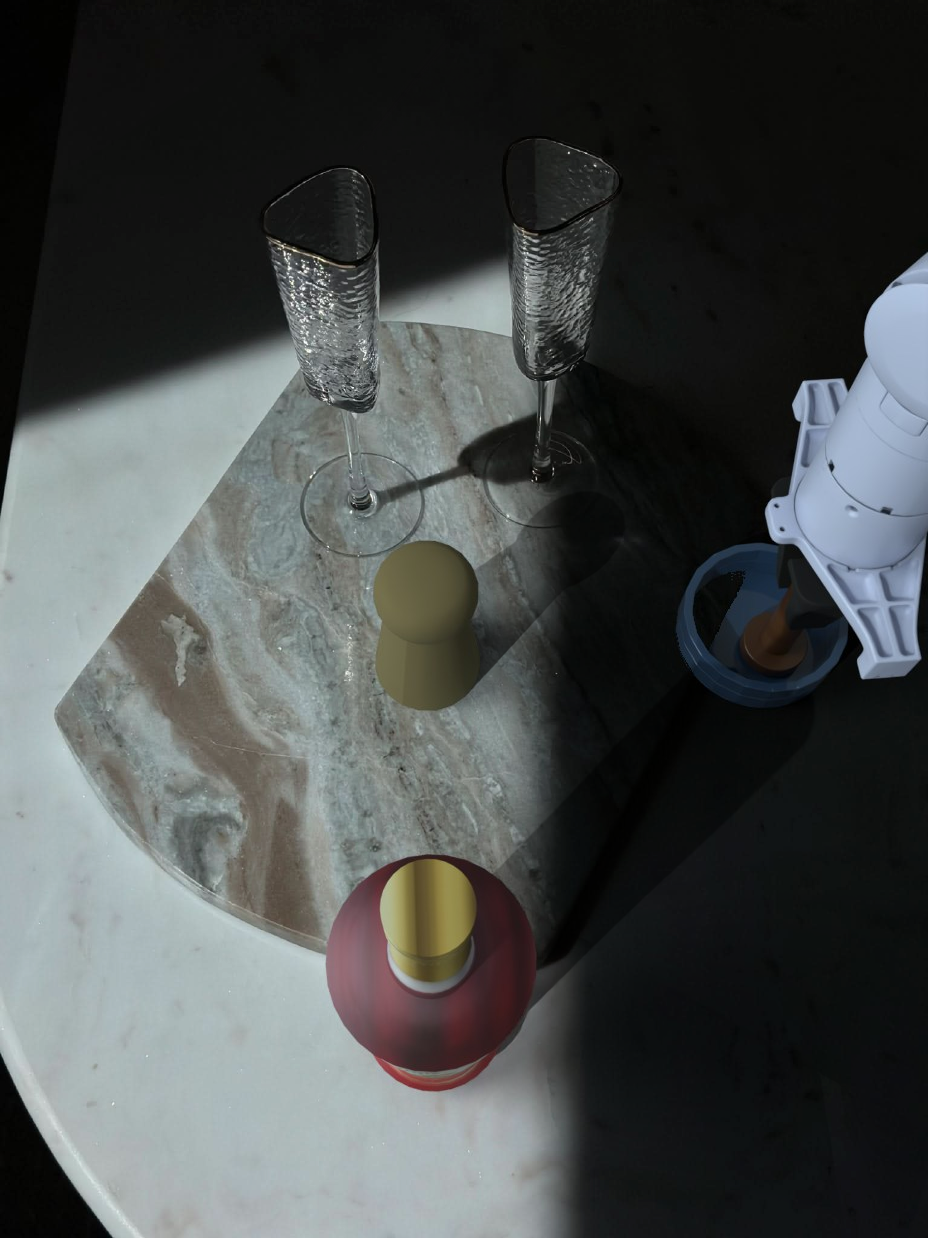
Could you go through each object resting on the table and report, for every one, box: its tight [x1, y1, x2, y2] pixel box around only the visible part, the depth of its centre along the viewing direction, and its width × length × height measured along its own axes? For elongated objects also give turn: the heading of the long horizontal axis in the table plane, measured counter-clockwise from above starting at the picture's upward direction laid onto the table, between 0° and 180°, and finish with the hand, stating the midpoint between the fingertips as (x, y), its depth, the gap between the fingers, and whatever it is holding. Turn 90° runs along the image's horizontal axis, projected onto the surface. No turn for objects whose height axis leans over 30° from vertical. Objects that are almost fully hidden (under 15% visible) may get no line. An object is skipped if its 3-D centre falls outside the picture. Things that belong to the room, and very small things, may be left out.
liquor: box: [325, 853, 537, 1093], centre depth 44 cm, size 7×7×28 cm
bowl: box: [675, 542, 849, 709], centre depth 65 cm, size 9×9×3 cm
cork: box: [372, 539, 481, 712], centre depth 60 cm, size 6×6×11 cm
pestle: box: [740, 583, 808, 677], centre depth 61 cm, size 4×4×10 cm
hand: (800, 601), depth 60 cm, fingers closed on pestle, 2 cm apart
